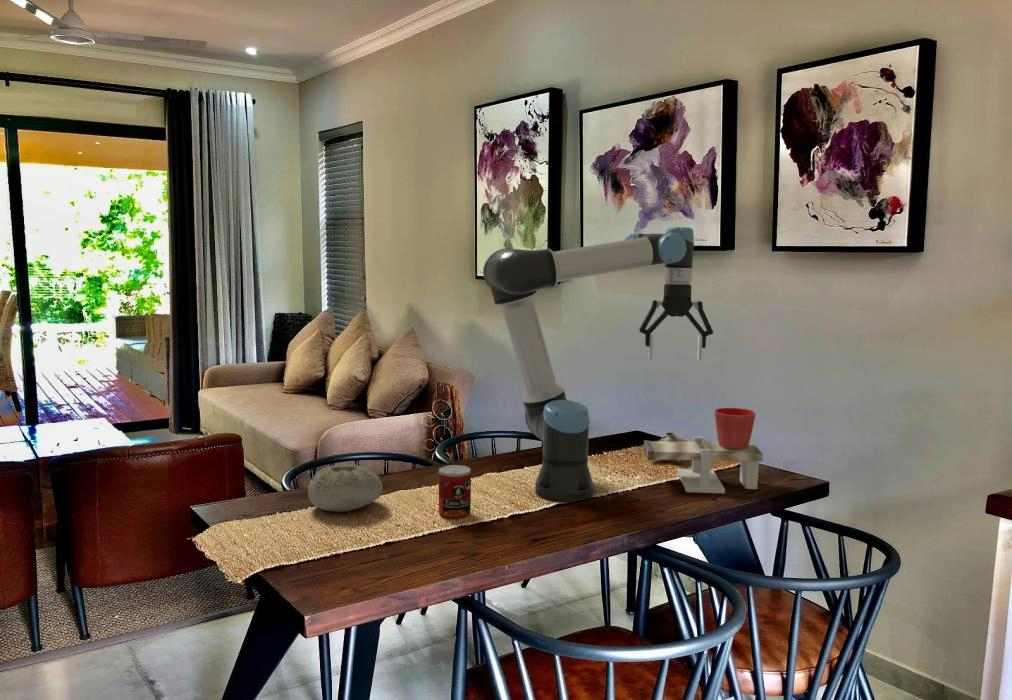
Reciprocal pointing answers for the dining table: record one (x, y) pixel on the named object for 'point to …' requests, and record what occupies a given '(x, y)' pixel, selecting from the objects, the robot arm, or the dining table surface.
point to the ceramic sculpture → (671, 438)
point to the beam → (699, 451)
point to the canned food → (454, 491)
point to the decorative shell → (344, 488)
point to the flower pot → (734, 427)
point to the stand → (707, 480)
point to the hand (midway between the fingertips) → (674, 358)
